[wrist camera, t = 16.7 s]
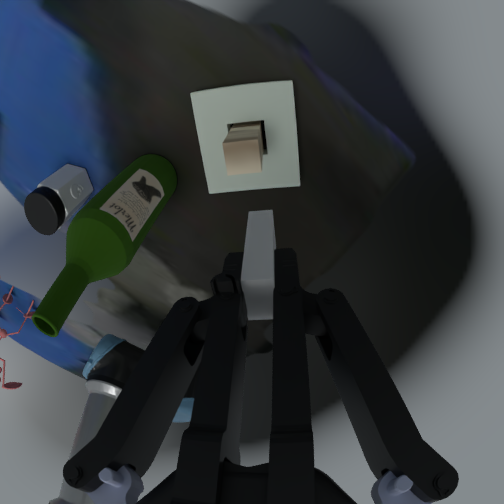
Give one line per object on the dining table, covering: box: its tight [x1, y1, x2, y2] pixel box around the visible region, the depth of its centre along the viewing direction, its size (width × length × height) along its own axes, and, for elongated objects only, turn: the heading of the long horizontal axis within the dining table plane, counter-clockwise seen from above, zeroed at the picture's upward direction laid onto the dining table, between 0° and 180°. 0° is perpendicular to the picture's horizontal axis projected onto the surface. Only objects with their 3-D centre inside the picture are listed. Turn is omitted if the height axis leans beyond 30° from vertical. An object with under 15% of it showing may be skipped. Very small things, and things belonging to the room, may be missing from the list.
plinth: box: [190, 80, 300, 194], centre depth 40 cm, size 16×14×3 cm
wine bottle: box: [32, 154, 177, 337], centre depth 33 cm, size 9×9×32 cm
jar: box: [24, 164, 93, 235], centre depth 42 cm, size 9×8×12 cm
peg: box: [222, 121, 263, 176], centre depth 37 cm, size 4×4×12 cm
